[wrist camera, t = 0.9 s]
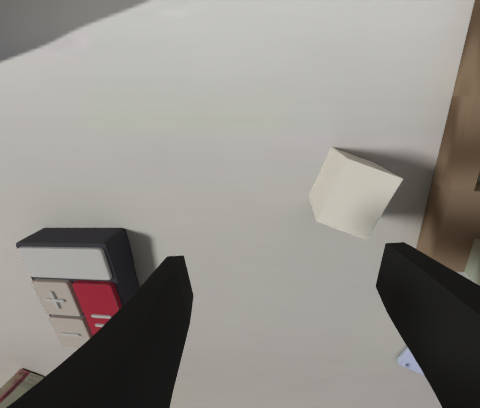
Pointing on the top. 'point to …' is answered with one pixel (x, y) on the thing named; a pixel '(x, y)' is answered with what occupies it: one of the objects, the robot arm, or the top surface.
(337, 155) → the block
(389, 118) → the top surface
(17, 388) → the small box
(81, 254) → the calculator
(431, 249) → the brown slotted block base
